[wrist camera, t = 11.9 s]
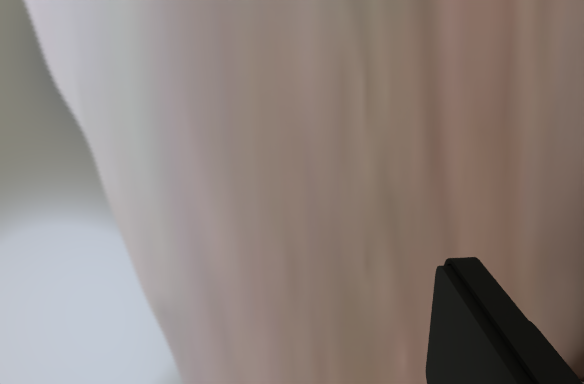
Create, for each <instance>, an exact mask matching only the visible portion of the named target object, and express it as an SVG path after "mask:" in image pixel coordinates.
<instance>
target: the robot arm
mask: <svg viewBox="0 0 584 384" xmlns="http://www.w3.org/2000/svg"><path fill="white" fill-rule="evenodd" d="M426 379H427V384H584V382H581V380H580V379H579V378H578V377H577V376H576V374H575V373H574V372H573V371H572V369H571V368H570V367H569V366H568V365H567V363H566V362H565V361H564V360H563V359H562V357H561V356H560V355H559V354H558V352H557V351H556V350H555V349H554V348H553V346H552V345H551V344H550V343H549V342H548V340H547V339H546V338H545V337H544V335H543V334H542V333H541V332H540V331H539V329H538V328H537V327H536V326H535V325H534V324H533V323H532V322H531V321H529V320H528V319H527V318H526V317H525V316H524V314H523V313H522V312H521V311H520V309H519V308H518V307H517V306H516V305H515V303H514V302H513V301H512V300H511V298H510V297H509V296H508V295H507V293H506V292H505V291H504V290H503V289H502V287H501V286H500V285H499V284H498V282H497V281H496V280H495V279H494V278H493V276H492V275H491V274H490V273H489V271H488V270H487V269H486V268H485V266H484V265H483V264H482V263H481V262H480V260H479V259H477V258H476V257H467V258H448V259H447V260H446V261H445V264H444V266H438V267H437V269H436V274H435V284H434V293H433V303H432V313H431V323H430V333H429V343H428V352H427V362H426Z"/></svg>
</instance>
